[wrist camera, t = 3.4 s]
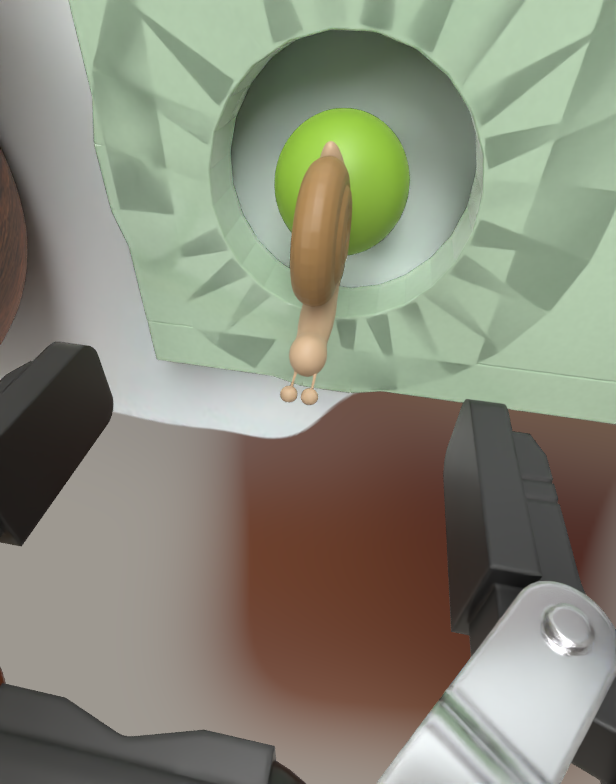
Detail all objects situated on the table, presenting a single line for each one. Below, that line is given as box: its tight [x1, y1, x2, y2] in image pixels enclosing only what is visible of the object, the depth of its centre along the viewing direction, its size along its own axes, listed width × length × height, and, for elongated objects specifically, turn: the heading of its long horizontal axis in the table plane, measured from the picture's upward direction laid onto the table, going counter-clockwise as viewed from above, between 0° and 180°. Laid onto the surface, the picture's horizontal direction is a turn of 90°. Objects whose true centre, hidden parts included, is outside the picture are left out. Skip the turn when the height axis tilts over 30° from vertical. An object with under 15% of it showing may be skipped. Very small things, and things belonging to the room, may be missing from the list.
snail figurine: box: [275, 108, 410, 405], centre depth 17 cm, size 5×6×12 cm
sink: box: [69, 0, 616, 424], centre depth 19 cm, size 21×32×3 cm, turn 88°
